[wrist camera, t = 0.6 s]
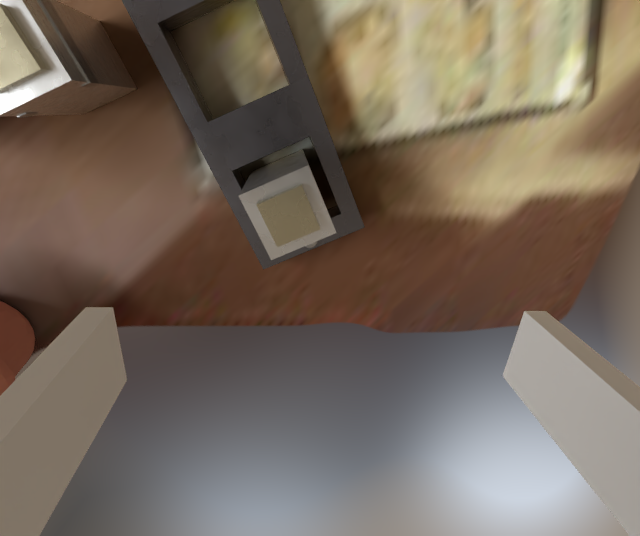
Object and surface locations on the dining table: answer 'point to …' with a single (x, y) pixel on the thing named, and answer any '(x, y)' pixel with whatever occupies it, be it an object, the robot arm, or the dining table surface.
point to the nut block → (56, 61)
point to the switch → (257, 137)
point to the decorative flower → (13, 344)
